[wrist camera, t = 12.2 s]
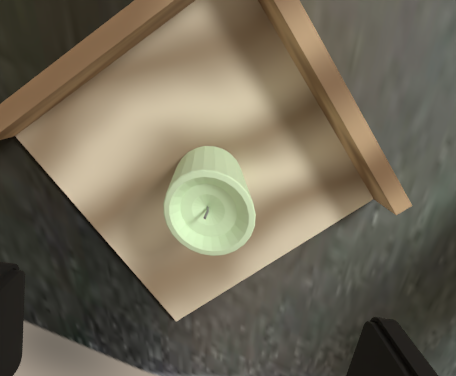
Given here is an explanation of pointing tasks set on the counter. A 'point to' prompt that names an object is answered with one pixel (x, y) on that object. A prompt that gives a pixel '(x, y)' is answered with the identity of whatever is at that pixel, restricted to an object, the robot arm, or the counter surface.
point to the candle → (209, 203)
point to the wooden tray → (202, 133)
